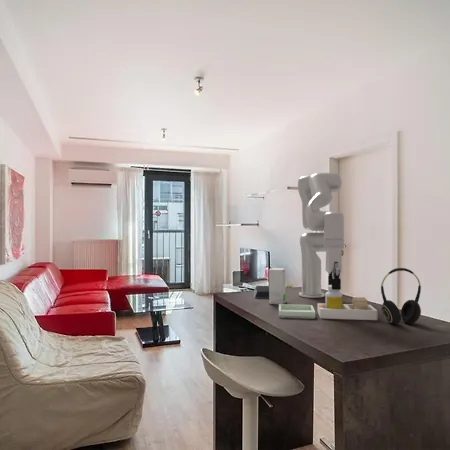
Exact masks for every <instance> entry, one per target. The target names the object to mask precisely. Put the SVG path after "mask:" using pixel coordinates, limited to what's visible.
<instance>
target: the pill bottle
mask: <svg viewBox="0 0 450 450" xmlns="http://www.w3.org/2000/svg"><path fill="white" fill-rule="evenodd" d="M327 290H328V291H326V292H325V293H324V294H325V295H324V298H325V299H324V301H325V303H324V304H325V309H343V304H344V303H343V300H344V299H343V294H342V292H341V291H340V290H333V289H332V285H328V284H327Z"/></svg>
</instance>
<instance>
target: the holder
mask: <svg viewBox="0 0 450 450" xmlns="http://www.w3.org/2000/svg"><path fill="white" fill-rule="evenodd" d="M317 313H318V316H319V318H320V319H326V320H327V319H330V320H331V319H332V320H361V321H378V309H376V308H375V307H374V306H372V304H367V310H357V309H353V303H350V304H349V303H348V304H347V303H343V309H325V303H317Z"/></svg>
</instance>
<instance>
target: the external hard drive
mask: <svg viewBox="0 0 450 450" xmlns="http://www.w3.org/2000/svg"><path fill="white" fill-rule="evenodd" d="M253 298H254V299H258V298H269V285H256V286H255V287H254V290H253Z"/></svg>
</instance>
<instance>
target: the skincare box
mask: <svg viewBox="0 0 450 450" xmlns="http://www.w3.org/2000/svg"><path fill="white" fill-rule="evenodd" d="M268 286H269V300H268V302H269V304H270V305H277V306H279V304H286V302H285V301H286V268H284V267H283V268H282V267H281V268H277V267H274V268H269V269H268Z"/></svg>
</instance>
